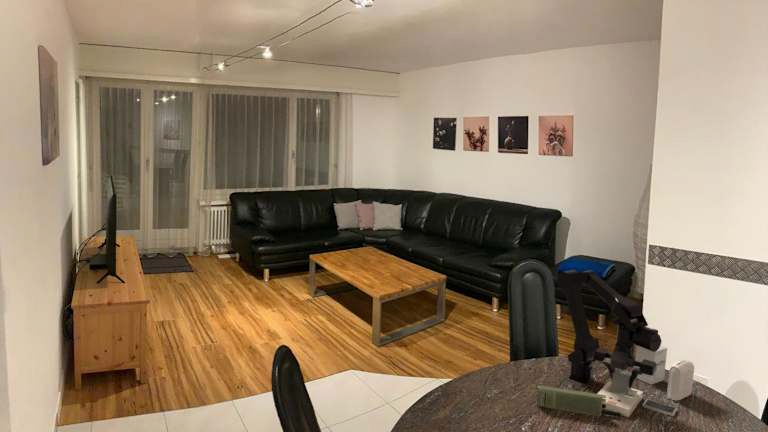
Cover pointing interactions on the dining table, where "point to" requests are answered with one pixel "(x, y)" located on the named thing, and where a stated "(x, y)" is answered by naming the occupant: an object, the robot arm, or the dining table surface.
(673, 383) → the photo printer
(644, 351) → the supplement box
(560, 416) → the dining table surface
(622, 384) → the block
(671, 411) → the phone slab
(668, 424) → the dining table surface
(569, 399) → the handheld radio
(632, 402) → the white grey flat device
